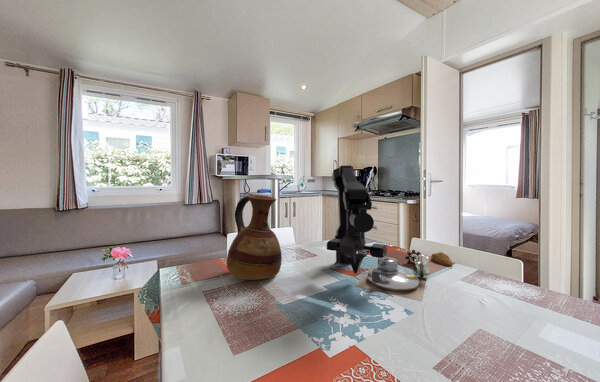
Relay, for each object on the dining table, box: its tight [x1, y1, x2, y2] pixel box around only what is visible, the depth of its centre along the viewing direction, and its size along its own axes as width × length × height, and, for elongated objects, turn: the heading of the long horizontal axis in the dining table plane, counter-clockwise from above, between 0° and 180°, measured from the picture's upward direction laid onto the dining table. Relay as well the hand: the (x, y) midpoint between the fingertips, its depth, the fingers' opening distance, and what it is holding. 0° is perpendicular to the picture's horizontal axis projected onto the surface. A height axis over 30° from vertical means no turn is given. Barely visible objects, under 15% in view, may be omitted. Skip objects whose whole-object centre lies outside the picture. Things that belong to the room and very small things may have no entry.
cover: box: [376, 256, 398, 275], centre depth 84 cm, size 7×7×4 cm
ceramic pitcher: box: [226, 193, 283, 280], centre depth 88 cm, size 20×20×30 cm
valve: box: [404, 249, 430, 275], centre depth 90 cm, size 7×7×12 cm
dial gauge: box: [415, 254, 430, 281], centre depth 81 cm, size 4×3×8 cm
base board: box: [354, 267, 427, 302], centre depth 79 cm, size 19×19×1 cm
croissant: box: [430, 251, 453, 268], centre depth 98 cm, size 14×7×5 cm, turn 176°
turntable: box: [367, 268, 419, 291], centre depth 79 cm, size 16×16×5 cm
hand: (355, 273), depth 79 cm, fingers closed
